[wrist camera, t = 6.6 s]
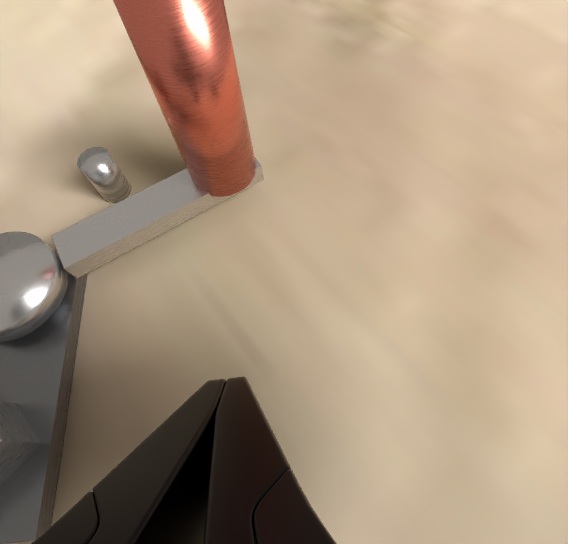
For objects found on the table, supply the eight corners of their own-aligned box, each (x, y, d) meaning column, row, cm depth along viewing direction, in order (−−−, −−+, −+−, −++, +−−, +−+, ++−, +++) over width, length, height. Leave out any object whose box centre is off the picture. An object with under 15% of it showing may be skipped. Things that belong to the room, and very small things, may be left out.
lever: (-126, 417, 15) (-646, 370, 7) (-136, 322, 17) (-552, 196, 9) (278, 197, 19) (249, -11, 10) (232, 138, 21) (177, -78, 12)
